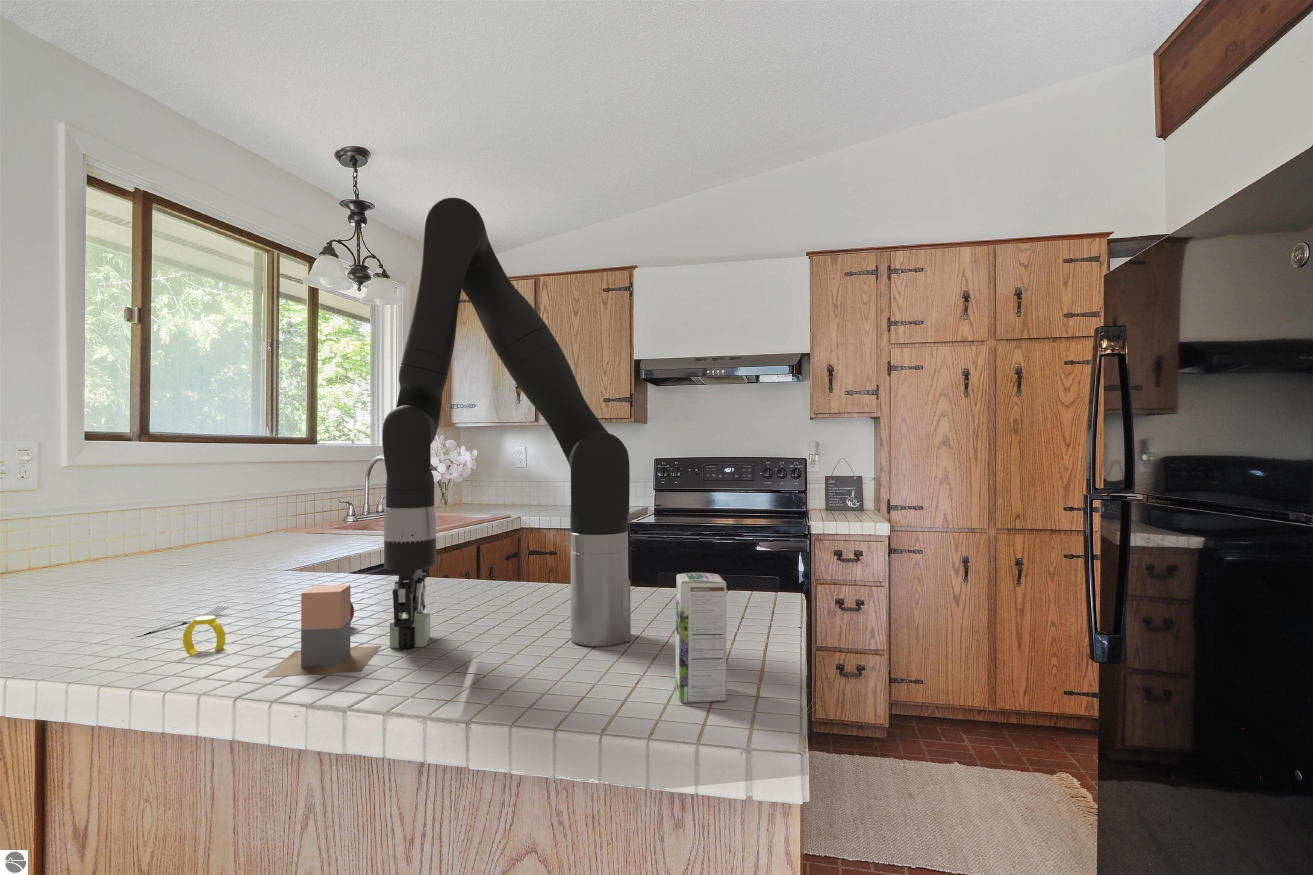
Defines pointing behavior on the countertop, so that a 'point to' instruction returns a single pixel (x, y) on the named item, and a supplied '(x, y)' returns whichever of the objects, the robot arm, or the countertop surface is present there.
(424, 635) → the sage brick
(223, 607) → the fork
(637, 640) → the countertop surface
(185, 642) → the watch
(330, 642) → the charcoal brick
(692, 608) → the syrup box
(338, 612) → the terracotta brick
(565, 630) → the countertop surface
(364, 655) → the walnut board
